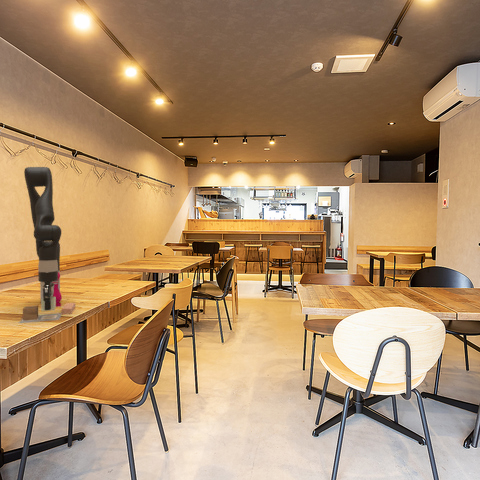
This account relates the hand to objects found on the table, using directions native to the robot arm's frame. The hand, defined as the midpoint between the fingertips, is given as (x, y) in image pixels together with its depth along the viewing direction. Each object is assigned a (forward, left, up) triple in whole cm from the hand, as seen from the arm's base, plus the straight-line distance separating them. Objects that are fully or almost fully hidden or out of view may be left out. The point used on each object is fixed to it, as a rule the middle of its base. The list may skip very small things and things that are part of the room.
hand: (48, 308), depth 150 cm
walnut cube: (0, -7, -4) cm, 8 cm away
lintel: (-9, +7, -6) cm, 13 cm away
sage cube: (0, 0, 0) cm, 0 cm away
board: (0, -3, -5) cm, 6 cm away
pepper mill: (-26, -1, -5) cm, 27 cm away
